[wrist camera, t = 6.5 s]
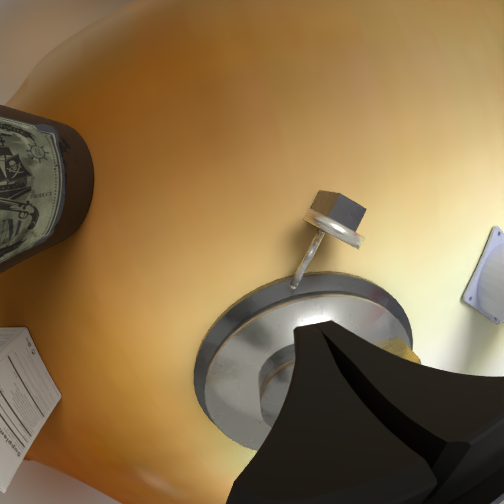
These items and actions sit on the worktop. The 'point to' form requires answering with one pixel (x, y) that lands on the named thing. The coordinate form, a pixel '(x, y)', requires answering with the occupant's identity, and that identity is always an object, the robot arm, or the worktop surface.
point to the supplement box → (21, 398)
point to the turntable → (276, 337)
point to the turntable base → (278, 292)
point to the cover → (275, 382)
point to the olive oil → (40, 184)
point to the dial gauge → (331, 225)
